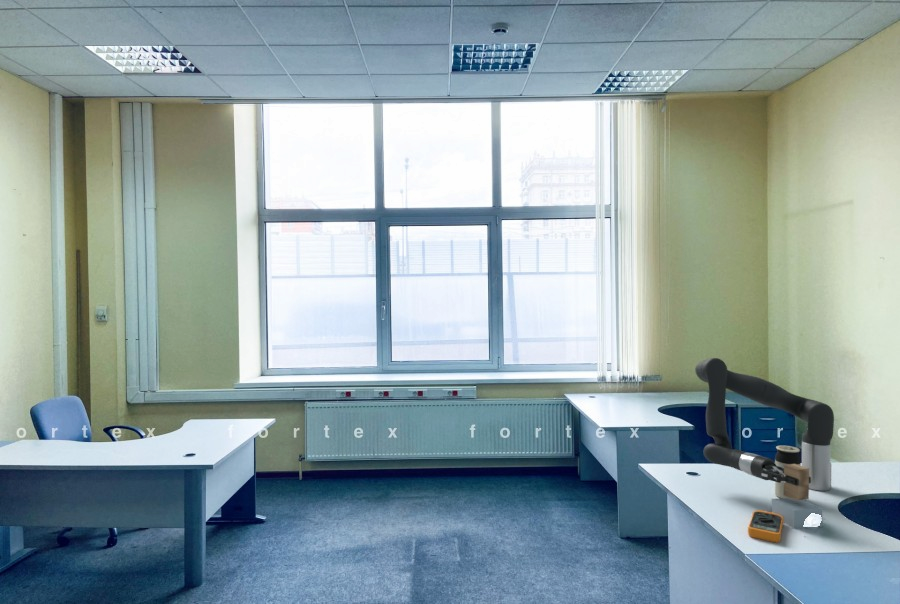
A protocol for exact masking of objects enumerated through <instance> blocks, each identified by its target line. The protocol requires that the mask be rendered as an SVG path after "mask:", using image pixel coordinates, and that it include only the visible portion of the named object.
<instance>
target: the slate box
mask: <svg viewBox="0 0 900 604" xmlns="http://www.w3.org/2000/svg"><path fill="white" fill-rule="evenodd" d="M823 511H824V509H823V508H821V507H819V506H817V505H816V504H813V503H811V502H809V501H807V500H806V499H805V500H800V501H797V500H795V499H792V498H780V497H778V498H771V512H772V513H776V514H779V515H781V516H782V517H783V524H786V525H787V526H789V527H791V528H792V529H794V530H795V529H804V528H803V525H804V521H805V519H806V518H807V517H808V516H809V515H810V514H811V513H815V514H819V515H821V517H822V521H821V523H820V527H819V528H823Z"/></svg>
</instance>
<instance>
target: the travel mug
mask: <svg viewBox="0 0 900 604" xmlns="http://www.w3.org/2000/svg"><path fill="white" fill-rule="evenodd" d="M775 448H776V451H777V452H776V454H775V456H774V462H775V464H776V466H782V467H784V465H790V464H797V465H800V466H802V457H800V455H799V454H800V452H801V449H800V448H798V447H795V446H791V445H777V446H775ZM783 494H784V482H782V481H781V483H778V482H775V481H774V495H775V496H776V497H778V498H789V497H787V496H784V495H783Z"/></svg>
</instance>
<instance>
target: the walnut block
mask: <svg viewBox="0 0 900 604" xmlns="http://www.w3.org/2000/svg"><path fill="white" fill-rule="evenodd" d="M784 474H786V475H787V476H791V477H794V478H797V479H799V485H797V486H796V485H793V484H790V483H787V482H786V483H784V494H783V495H784V496H787V497H789V498H792V499H795V500H797V501H800V500H805V501H806V500H809V496H810V495H809V494H810V493H809V492H810V489H809V468H807V467H803V466H802V465H801V466H800V465H797V464H790V465H784Z"/></svg>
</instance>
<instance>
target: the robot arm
mask: <svg viewBox="0 0 900 604" xmlns="http://www.w3.org/2000/svg"><path fill="white" fill-rule="evenodd" d="M695 374H696V376H697V378H699V380H701V381H702V382H704V383H706V384H707V385H708V399H707V404H706V409H705V427H706V433H707V435H708V436H709V437H710V438H711V437H712V438H713V440H714V443H708V444H707V445H705V446H704V448H703V451H702V452H703V456H704V458H705V459H706V460H707V461H708V462H710V463H711V464H716V465H719V466H724V467H729V468H732V469H734V470H737V471H741V472H743V473H746V474H748V475H750V476H753V477H755V478H758V479H761V480H763V481H772V482H774V483H775V482H778V483H781V481H782V482H784V483H786V482H787V483H790V484H793V485H796V486H797V485H799V479H797V478H794V477H791V476H787V475H786V474H784V467H782V466H776V464H775V460H774V459H772V458H769V457H766V456H762V455H759V454H756V453H751V452H747V451H744V450H740V449H733V446H732V444H731V440H730V437H729V434H728V432H727V419H726V416H727V415H726V395H727V393H726V392H727V391H726V390H729V391H731V392H734V393H736V394H738V395H740V396H742V397H744V398H746V399H749V400H751V401H753V402H755V403H758V404H761V405H764V406H766V407H770V408H773V409H778V410H782V411H785V412H786V413H789V414H791V415H793V416H795V417H797V418H798V419H800V420H802V421H803V422H806V423H807V427H806V429H807V430H806V432H803V433H802V434H801V466H803V467H807V468H809V490H815V491H822V492H823V491H824V492H825V491H830V490H831V488H832V462H831V441H832V439H833V436H834V429H835V428H834V427H835V426H834V425H835V424H834V423H835V415H834V411H833V409H832V407H831V406H830V405H828V404H826V403H825V402H822V401H818V400H814V399H810V398H807V397H803V396H799V395H797V394H793V393H792V392H790V391H787V390H786V389H785V388H783V387H781V386H779V385H777V384H775V383H773V382H771V381H768V380H767V379H763V378H760V377H757V376H753V375H748V374H743V373H738V372H734V371H731V370H728V367H727V364H726V362H725V361H724V360H723V359H721V358H718V357H713V358H707V359H703V360H702V361H699V362H698V363H697V364H696V366H695Z"/></svg>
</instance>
